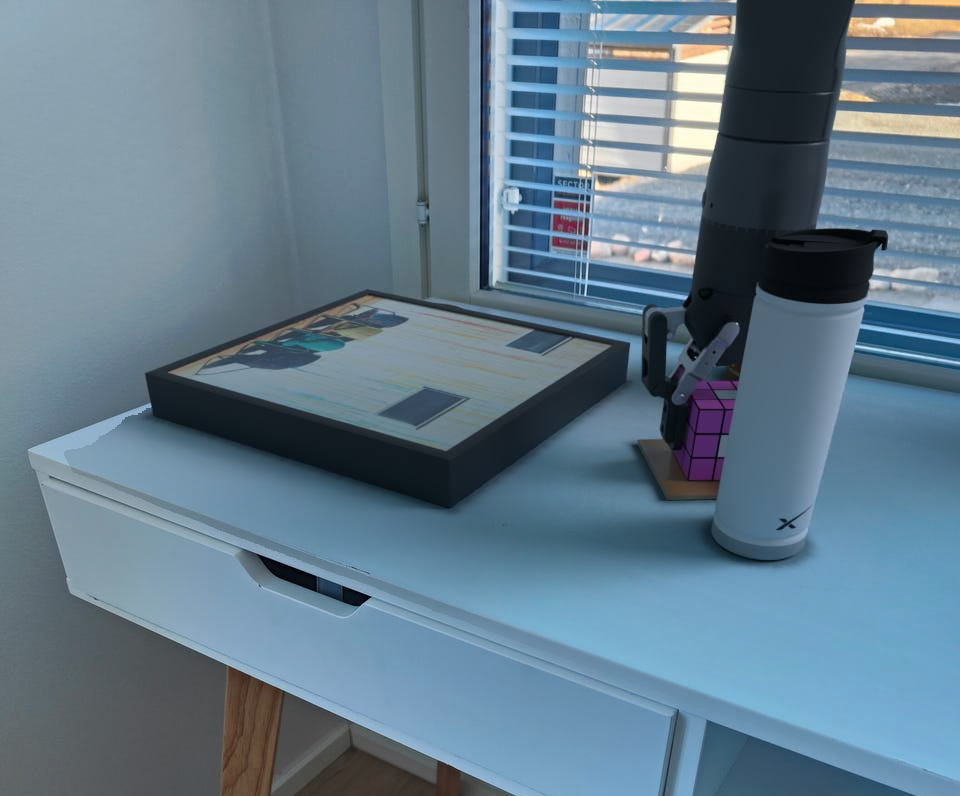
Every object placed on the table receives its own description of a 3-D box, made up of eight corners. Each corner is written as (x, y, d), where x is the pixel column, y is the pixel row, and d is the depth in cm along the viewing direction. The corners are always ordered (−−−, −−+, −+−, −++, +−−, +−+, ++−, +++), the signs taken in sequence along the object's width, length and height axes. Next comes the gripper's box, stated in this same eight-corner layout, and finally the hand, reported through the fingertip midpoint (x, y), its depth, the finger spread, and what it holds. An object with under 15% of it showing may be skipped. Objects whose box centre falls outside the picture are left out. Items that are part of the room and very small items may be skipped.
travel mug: (805, 570, 61) (890, 246, 49) (703, 551, 63) (762, 234, 51) (812, 527, 66) (891, 222, 54) (717, 510, 67) (774, 212, 56)
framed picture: (367, 288, 98) (630, 342, 86) (369, 324, 101) (626, 382, 88) (144, 373, 77) (449, 460, 65) (153, 415, 80) (450, 508, 67)
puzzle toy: (671, 449, 75) (681, 380, 71) (741, 449, 75) (754, 380, 72) (687, 481, 70) (698, 409, 67) (761, 481, 70) (777, 409, 67)
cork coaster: (755, 441, 77) (755, 437, 77) (798, 497, 69) (799, 492, 69) (636, 443, 77) (637, 439, 76) (666, 500, 68) (667, 495, 68)
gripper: (667, 224, 58) (636, 469, 68) (888, 224, 59) (826, 465, 69) (640, 200, 64) (616, 428, 74) (841, 200, 65) (791, 424, 75)
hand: (717, 445), depth 72 cm, fingers open, 6 cm apart
